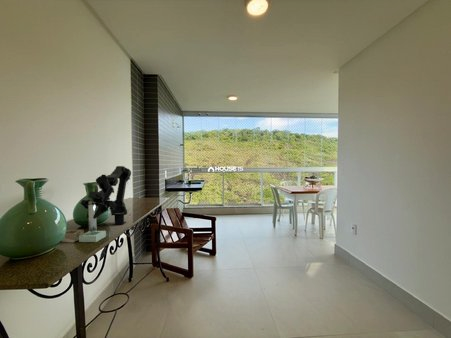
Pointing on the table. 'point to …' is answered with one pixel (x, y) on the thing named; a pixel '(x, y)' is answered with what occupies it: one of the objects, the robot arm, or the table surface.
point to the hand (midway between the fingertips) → (90, 218)
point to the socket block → (92, 236)
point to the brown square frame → (72, 235)
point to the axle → (91, 220)
